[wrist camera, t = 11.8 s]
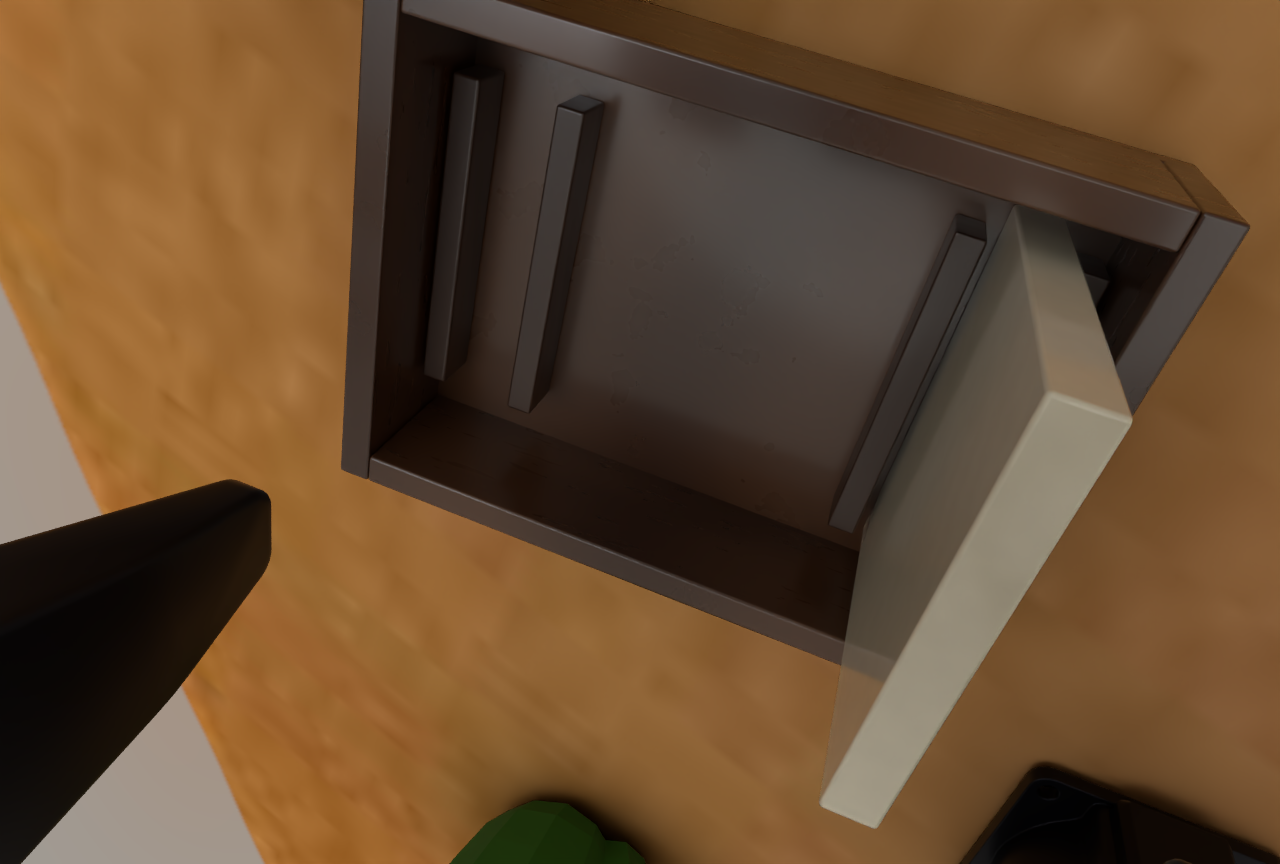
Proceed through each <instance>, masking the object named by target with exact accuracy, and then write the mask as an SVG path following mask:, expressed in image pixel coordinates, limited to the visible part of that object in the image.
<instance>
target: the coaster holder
mask: <svg viewBox="0 0 1280 864" xmlns="http://www.w3.org/2000/svg"><path fill="white" fill-rule="evenodd" d="M1015 205H1021V206H1024V207H1027V208H1031V209H1034V210H1037V211H1040V212H1043V213H1047V214H1050V215H1053V216H1056V217H1059V218H1063V219H1065V220H1066V221H1067V224H1068V227H1069V230H1070V233H1071V236H1072V239H1073V242H1074V244H1075V247H1076V250H1077V253H1078V256H1079V259H1080V262H1081V265H1082V268H1083V271H1084V274H1085V277H1086V280H1087V283H1088V286H1089V289H1090V292H1091V295H1092V298H1093V301H1094V304H1095V307H1096V310H1097V313H1098V316H1099V319H1100V322H1101V325H1102V328H1103V331H1104V334H1105V337H1106V340H1107V343H1108V346H1109V349H1110V352H1111V355H1112V358H1113V361H1114V364H1115V367H1116V370H1117V373H1118V376H1119V379H1120V382H1121V385H1122V388H1123V391H1124V394H1125V397H1126V400H1127V403H1128V406H1129V409H1130V412H1131V415H1132V416H1133V415H1134V413H1135V411H1136V410H1137V408H1138V407H1139V405H1140V403H1141V402H1142V400H1143V399H1144V397H1145V395H1146V394H1147V392H1148V391H1149V389H1150V387H1151V386H1152V384H1153V383H1154V381H1155V379H1156V378H1157V376H1158V375H1159V373H1160V371H1161V370H1162V368H1163V367H1164V365H1165V363H1166V362H1167V360H1168V359H1169V357H1170V355H1171V354H1172V352H1173V351H1174V349H1175V348H1176V346H1177V344H1178V343H1179V341H1180V340H1181V338H1182V336H1183V335H1184V333H1185V332H1186V330H1187V328H1188V327H1189V325H1190V324H1191V322H1192V320H1193V319H1194V317H1195V316H1196V314H1197V312H1198V311H1199V309H1200V308H1201V306H1202V304H1203V303H1204V301H1205V300H1206V298H1207V296H1208V295H1209V293H1210V292H1211V290H1212V289H1213V287H1214V285H1215V284H1216V282H1217V281H1218V279H1219V277H1220V276H1221V274H1222V273H1223V271H1224V269H1225V268H1226V266H1227V265H1228V263H1229V261H1230V260H1231V258H1232V257H1233V255H1234V253H1235V252H1236V250H1237V249H1238V247H1239V245H1240V244H1241V242H1242V241H1243V239H1244V237H1245V236H1246V234H1247V233H1248V231H1249V229H1250V225H1249V224H1248V223H1247V222H1246V221H1245V220H1244V218H1243V217H1242V216H1241V215H1240V214H1239V213H1238V212H1237V211H1236V210H1235V209H1234V208H1233V206H1232V205H1231V204H1230V203H1229V202H1228V201H1227V200H1226V199H1225V198H1224V197H1223V196H1222V195H1221V193H1220V192H1219V191H1218V190H1217V189H1216V188H1215V187H1214V186H1213V185H1212V184H1211V183H1210V181H1209V180H1208V179H1207V178H1206V177H1205V176H1204V175H1203V174H1202V173H1201V172H1200V171H1199V170H1198V168H1197V167H1196V166H1195V165H1192V164H1189V163H1186V162H1182V161H1179V160H1175V159H1172V158H1169V157H1165V156H1162V155H1158V154H1155V153H1152V152H1148V151H1145V150H1141V149H1138V148H1135V147H1131V146H1128V145H1125V144H1121V143H1118V142H1115V141H1111V140H1108V139H1104V138H1101V137H1098V136H1094V135H1091V134H1088V133H1084V132H1081V131H1077V130H1074V129H1071V128H1067V127H1064V126H1061V125H1057V124H1054V123H1050V122H1047V121H1044V120H1040V119H1037V118H1034V117H1030V116H1027V115H1024V114H1020V113H1017V112H1013V111H1010V110H1007V109H1003V108H1000V107H997V106H993V105H990V104H986V103H983V102H980V101H976V100H973V99H970V98H966V97H963V96H959V95H956V94H953V93H949V92H946V91H943V90H939V89H936V88H933V87H929V86H926V85H922V84H919V83H916V82H912V81H909V80H906V79H902V78H899V77H895V76H892V75H889V74H885V73H882V72H879V71H875V70H872V69H869V68H865V67H862V66H858V65H855V64H852V63H848V62H845V61H842V60H838V59H835V58H831V57H828V56H825V55H821V54H818V53H815V52H811V51H808V50H804V49H801V48H798V47H794V46H791V45H788V44H784V43H781V42H778V41H774V40H771V39H767V38H764V37H761V36H757V35H754V34H751V33H747V32H744V31H740V30H737V29H734V28H730V27H727V26H724V25H720V24H717V23H713V22H710V21H707V20H703V19H700V18H697V17H693V16H690V15H687V14H683V13H680V12H676V11H673V10H670V9H666V8H663V7H660V6H656V5H653V4H649V3H646V2H643V1H639V0H363V17H362V38H361V59H360V80H359V101H358V123H357V144H356V165H355V186H354V207H353V228H352V249H351V270H350V291H349V312H348V334H347V355H346V376H345V397H344V418H343V439H342V460H341V469H342V470H344V471H346V472H349V473H351V474H354V475H356V476H359V477H362V478H364V479H368V478H369V480H370V481H373V482H375V483H378V484H380V485H383V486H386V487H388V488H391V489H393V490H396V491H398V492H401V493H403V494H406V495H408V496H411V497H414V498H416V499H419V500H421V501H424V502H426V503H429V504H431V505H434V506H436V507H439V508H442V509H444V510H447V511H449V512H452V513H454V514H457V515H459V516H462V517H464V518H467V519H470V520H472V521H475V522H477V523H480V524H482V525H485V526H487V527H490V528H492V529H495V530H498V531H500V532H503V533H505V534H508V535H510V536H513V537H515V538H518V539H520V540H523V541H526V542H528V543H531V544H533V545H536V546H538V547H541V548H543V549H546V550H548V551H551V552H554V553H556V554H559V555H561V556H564V557H566V558H569V559H571V560H574V561H576V562H579V563H582V564H584V565H587V566H589V567H592V568H594V569H597V570H599V571H602V572H604V573H607V574H610V575H612V576H615V577H617V578H620V579H622V580H625V581H627V582H630V583H632V584H635V585H638V586H640V587H643V588H645V589H648V590H650V591H653V592H655V593H658V594H660V595H663V596H665V597H668V598H671V599H673V600H676V601H678V602H681V603H683V604H686V605H688V606H691V607H693V608H696V609H699V610H701V611H704V612H706V613H709V614H711V615H714V616H716V617H719V618H721V619H724V620H727V621H729V622H732V623H734V624H737V625H739V626H742V627H744V628H747V629H749V630H752V631H755V632H757V633H760V634H762V635H765V636H767V637H770V638H772V639H775V640H777V641H780V642H783V643H785V644H788V645H790V646H793V647H795V648H798V649H800V650H803V651H805V652H808V653H811V654H813V655H816V656H818V657H821V658H823V659H826V660H828V661H831V662H833V663H836V664H839V665H841V663H842V657H843V651H844V644H845V638H846V632H847V626H848V620H849V614H850V608H851V602H852V596H853V589H854V583H855V577H856V571H857V565H858V559H859V553H860V547H861V541H862V534H863V528H864V525H865V523H866V521H867V518H868V516H869V514H870V512H871V510H872V508H873V506H874V503H875V501H876V499H877V497H878V495H879V493H880V491H881V489H882V486H883V484H884V482H885V480H886V478H887V476H888V474H889V471H890V469H891V467H892V465H893V463H894V461H895V459H896V456H897V454H898V452H899V450H900V448H901V446H902V444H903V441H904V439H905V437H906V435H907V433H908V431H909V429H910V426H911V424H912V422H913V420H914V418H915V416H916V414H917V411H918V409H919V407H920V405H921V403H922V401H923V399H924V397H925V394H926V392H927V390H928V388H929V386H930V384H931V382H932V379H933V377H934V375H935V373H936V371H937V369H938V367H939V364H940V362H941V360H942V358H943V356H944V354H945V352H946V349H947V347H948V345H949V343H950V341H951V339H952V337H953V334H954V332H955V330H956V328H957V326H958V324H959V322H960V319H961V317H962V315H963V313H964V311H965V309H966V307H967V305H968V302H969V300H970V298H971V296H972V294H973V292H974V290H975V287H976V285H977V283H978V281H979V279H980V277H981V275H982V272H983V270H984V268H985V266H986V264H987V262H988V260H989V257H990V255H991V253H992V251H993V249H994V247H995V245H996V242H997V240H998V238H999V236H1000V234H1001V232H1002V230H1003V227H1004V225H1005V223H1006V221H1007V219H1008V217H1009V215H1010V213H1011V210H1012V208H1013V207H1014V206H1015Z"/></svg>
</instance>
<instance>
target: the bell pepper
mask: <svg viewBox="0 0 1280 864" xmlns="http://www.w3.org/2000/svg"><path fill="white" fill-rule="evenodd" d="M450 864H646V863H645V859H644V858H643V857H642V856H641V855H639V854H638V853H637V852H636V851H635V850H634V849H633V848H632V847H631V846H630V845H628V844H627V843H626V842H619V841H609V840H605V839H604V837H603V836H602V834H601V832H600V830H599V829H598V827H597V825H596V824H595V823H593V822H592V821H590V820H589V819H588V818H586V817H585V816H584V815H582V814H581V813H579V812H578V811H577V810H575V809H574V808H573V807H571V806H570V805H568V804H567V803H557V802H546V801H536V800H534V801H531V802H529V803H526V804H524V805H521V806H519V807H516V808H513V809H511V810H508V811H507V812H505V813H503V814H501V815H500V816H498V817H496V818H494V819H493V820H491V821H489V822H487V823H486V824H485V825H484V826H483V828H482V829H481V830H480V831H479V832H478V833H477V834H476V835H475V836H474V837H473V838H472V839H471V841H470V842H469V843H468V844H467V845H466V846H465V847H464V848H463V849H462V850H461V851H460V852H459V853H458V855H457V856H456V857H455V858H454V859H453V860H452V862H451V863H450Z"/></svg>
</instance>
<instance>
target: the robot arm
mask: <svg viewBox="0 0 1280 864" xmlns="http://www.w3.org/2000/svg"><path fill="white" fill-rule="evenodd" d="M270 556H271V500H270V498H269V496H268V494H267V493H265V492H264V491H262V490H260V489H258V488H255V487H253V486H250V485H248V484H245V483H243V482H240V481H237V480H232V479H229V480H223V481H219V482H215V483H212V484H208V485H205V486H202V487H198V488H195V489H191V490H188V491H184V492H181V493H177V494H174V495H170V496H167V497H163V498H160V499H156V500H153V501H150V502H146V503H143V504H139V505H136V506H132V507H129V508H125V509H122V510H118V511H115V512H111V513H108V514H104V515H101V516H98V517H94V518H91V519H87V520H84V521H80V522H77V523H73V524H70V525H66V526H63V527H60V528H56V529H52V530H49V531H46V532H42V533H39V534H35V535H32V536H28V537H25V538H21V539H18V540H14V541H11V542H7V543H4V544H0V864H21V863H22V862H23V861H24V860H25V859H26V857H27V856H28V855H29V854H30V853H31V852H32V851H33V850H34V849H35V847H36V846H37V845H38V844H39V843H40V842H41V841H42V840H43V838H45V837H46V835H47V834H48V833H49V832H50V831H51V830H52V829H53V828H54V827H55V826H56V824H57V823H58V822H59V821H60V820H61V819H62V818H63V817H64V816H65V815H66V813H67V812H68V811H69V810H70V809H71V808H72V807H73V806H74V805H75V803H76V802H77V801H78V800H79V799H80V798H81V797H82V796H83V795H84V794H85V792H86V791H87V790H88V789H89V788H90V787H91V786H92V785H93V784H94V782H95V781H96V780H97V779H98V778H99V777H100V776H101V775H102V774H103V773H104V772H105V770H106V769H107V768H108V767H109V766H110V765H111V764H112V763H113V762H114V761H115V759H116V758H117V757H118V756H119V755H120V754H121V753H122V752H123V751H124V750H125V748H126V747H127V746H128V745H129V744H130V743H131V742H132V741H133V740H134V739H135V737H136V736H137V735H138V734H139V733H140V732H141V731H142V730H143V729H144V727H145V726H146V725H147V724H148V723H149V722H150V721H151V720H152V719H153V718H154V716H155V715H156V714H157V713H158V712H159V711H160V710H161V709H162V707H163V706H164V705H165V704H166V703H167V702H168V700H169V699H170V698H171V697H172V696H173V695H174V694H175V692H176V691H177V690H178V688H179V687H180V686H181V685H182V683H183V682H184V681H185V679H186V678H187V677H188V676H189V674H190V673H191V672H192V670H193V669H194V668H195V666H196V665H197V663H198V662H199V661H200V659H201V658H202V657H203V655H204V654H205V653H206V651H207V650H208V649H209V647H210V646H211V644H212V643H213V642H214V640H215V639H216V638H217V636H218V635H219V634H220V632H221V631H222V630H223V628H224V627H225V625H226V624H227V623H228V621H229V620H230V619H231V617H232V616H233V615H234V613H235V612H236V610H237V609H238V608H239V606H240V605H241V604H242V602H243V601H244V600H245V598H246V597H247V596H248V594H249V593H250V591H251V590H252V589H253V587H254V586H255V585H256V583H257V582H258V581H259V579H260V578H261V576H262V575H263V573H264V572H265V570H266V568H267V566H268V563H269V561H270ZM1046 785H1048V786H1052V787H1044V786H1046ZM960 864H1280V858H1278V857H1277V856H1275V855H1273V854H1270V853H1268V852H1265V851H1263V850H1260V849H1257V848H1255V847H1252V846H1250V845H1247V844H1245V843H1242V842H1240V841H1237V840H1235V839H1232V838H1230V837H1227V836H1225V835H1222V834H1220V833H1217V832H1215V831H1212V830H1210V829H1207V828H1204V827H1202V826H1199V825H1197V824H1194V823H1192V822H1189V821H1187V820H1184V819H1182V818H1179V817H1177V816H1174V815H1172V814H1169V813H1167V812H1164V811H1162V810H1159V809H1156V808H1154V807H1151V806H1149V805H1146V804H1144V803H1141V802H1139V801H1136V800H1134V799H1131V798H1129V797H1126V796H1124V795H1121V794H1119V793H1116V792H1114V791H1111V790H1108V789H1106V788H1103V787H1101V786H1098V785H1096V784H1093V783H1091V782H1088V781H1086V780H1083V779H1081V778H1078V777H1076V776H1073V775H1071V774H1068V773H1066V772H1063V771H1060V770H1058V769H1055V768H1051V767H1037V768H1034V769H1032V770H1031V771H1029V772H1028V773H1027V775H1026V776H1025V777H1024V779H1023V780H1022V781H1021V783H1020V784H1019V785H1018V787H1017V788H1016V789H1015V791H1014V792H1013V793H1012V795H1011V796H1010V797H1009V799H1008V800H1007V802H1006V803H1005V804H1004V806H1003V807H1002V808H1001V810H1000V811H999V812H998V814H997V815H996V816H995V818H994V819H993V820H992V822H991V823H990V824H989V826H988V827H987V828H986V830H985V831H984V832H983V834H982V835H981V836H980V838H979V839H978V840H977V842H976V843H975V844H974V846H973V847H972V848H971V850H970V851H969V852H968V854H967V855H966V857H965V858H964V859H963V861H962V862H961V863H960Z"/></svg>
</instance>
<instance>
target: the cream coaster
mask: <svg viewBox="0 0 1280 864" xmlns="http://www.w3.org/2000/svg"><path fill="white" fill-rule="evenodd" d="M1132 422H1133V417H1132V415H1131V412H1130V409H1129V406H1128V403H1127V400H1126V397H1125V394H1124V391H1123V388H1122V385H1121V382H1120V379H1119V376H1118V373H1117V370H1116V367H1115V364H1114V361H1113V358H1112V355H1111V352H1110V349H1109V346H1108V343H1107V340H1106V337H1105V334H1104V331H1103V328H1102V325H1101V322H1100V319H1099V316H1098V313H1097V310H1096V307H1095V304H1094V301H1093V298H1092V295H1091V292H1090V289H1089V286H1088V283H1087V280H1086V277H1085V274H1084V271H1083V268H1082V265H1081V262H1080V259H1079V256H1078V253H1077V250H1076V247H1075V244H1074V242H1073V239H1072V236H1071V233H1070V230H1069V227H1068V224H1067V221H1066V220H1065V219H1063V218H1059V217H1056V216H1053V215H1050V214H1047V213H1043V212H1040V211H1037V210H1034V209H1031V208H1027V207H1024V206H1021V205H1015V206H1014V207H1013V208H1012V210H1011V213H1010V215H1009V217H1008V219H1007V221H1006V223H1005V225H1004V227H1003V230H1002V232H1001V234H1000V236H999V238H998V240H997V242H996V245H995V247H994V249H993V251H992V253H991V255H990V257H989V260H988V262H987V264H986V266H985V268H984V270H983V272H982V275H981V277H980V279H979V281H978V283H977V285H976V287H975V290H974V292H973V294H972V296H971V298H970V300H969V302H968V305H967V307H966V309H965V311H964V313H963V315H962V317H961V319H960V322H959V324H958V326H957V328H956V330H955V332H954V334H953V337H952V339H951V341H950V343H949V345H948V347H947V349H946V352H945V354H944V356H943V358H942V360H941V362H940V364H939V367H938V369H937V371H936V373H935V375H934V377H933V379H932V382H931V384H930V386H929V388H928V390H927V392H926V394H925V397H924V399H923V401H922V403H921V405H920V407H919V409H918V411H917V414H916V416H915V418H914V420H913V422H912V424H911V426H910V429H909V431H908V433H907V435H906V437H905V439H904V441H903V444H902V446H901V448H900V450H899V452H898V454H897V456H896V459H895V461H894V463H893V465H892V467H891V469H890V471H889V474H888V476H887V478H886V480H885V482H884V484H883V486H882V489H881V491H880V493H879V495H878V497H877V499H876V501H875V503H874V506H873V508H872V510H871V512H870V514H869V516H868V518H867V521H866V523H865V525H864V528H863V534H862V541H861V547H860V553H859V559H858V565H857V571H856V577H855V583H854V589H853V596H852V602H851V608H850V614H849V620H848V626H847V632H846V638H845V644H844V651H843V657H842V663H841V669H840V675H839V681H838V687H837V693H836V700H835V706H834V712H833V718H832V724H831V730H830V736H829V742H828V748H827V755H826V761H825V767H824V773H823V779H822V785H821V791H820V797H819V804H820V806H821V807H822V808H824V809H827V810H829V811H832V812H834V813H836V814H839V815H841V816H844V817H846V818H848V819H851V820H853V821H856V822H858V823H860V824H863V825H865V826H868V827H870V828H873V829H876V828H878V826H879V825H880V823H881V822H882V820H883V818H884V817H885V815H886V814H887V812H888V811H889V809H890V807H891V806H892V804H893V803H894V801H895V799H896V798H897V796H898V795H899V793H900V792H901V790H902V788H903V787H904V785H905V784H906V782H907V780H908V779H909V777H910V776H911V774H912V772H913V771H914V769H915V768H916V766H917V765H918V763H919V761H920V760H921V758H922V757H923V755H924V753H925V752H926V750H927V749H928V747H929V746H930V744H931V742H932V741H933V739H934V738H935V736H936V734H937V733H938V731H939V730H940V728H941V726H942V725H943V723H944V722H945V720H946V719H947V717H948V715H949V714H950V712H951V711H952V709H953V707H954V706H955V704H956V703H957V701H958V699H959V698H960V696H961V695H962V693H963V692H964V690H965V688H966V687H967V685H968V684H969V682H970V680H971V679H972V677H973V676H974V674H975V673H976V671H977V669H978V668H979V666H980V665H981V663H982V661H983V660H984V658H985V657H986V655H987V653H988V652H989V650H990V649H991V647H992V646H993V644H994V642H995V641H996V639H997V638H998V636H999V634H1000V633H1001V631H1002V630H1003V628H1004V627H1005V625H1006V623H1007V622H1008V620H1009V619H1010V617H1011V615H1012V614H1013V612H1014V611H1015V609H1016V607H1017V606H1018V604H1019V603H1020V601H1021V600H1022V598H1023V596H1024V595H1025V593H1026V592H1027V590H1028V588H1029V587H1030V585H1031V584H1032V582H1033V581H1034V579H1035V577H1036V576H1037V574H1038V573H1039V571H1040V569H1041V568H1042V566H1043V565H1044V563H1045V561H1046V560H1047V558H1048V557H1049V555H1050V554H1051V552H1052V550H1053V549H1054V547H1055V546H1056V544H1057V542H1058V541H1059V539H1060V538H1061V536H1062V535H1063V533H1064V531H1065V530H1066V528H1067V527H1068V525H1069V523H1070V522H1071V520H1072V519H1073V517H1074V515H1075V514H1076V512H1077V511H1078V509H1079V508H1080V506H1081V504H1082V503H1083V501H1084V500H1085V498H1086V496H1087V495H1088V493H1089V492H1090V490H1091V488H1092V487H1093V485H1094V484H1095V482H1096V481H1097V479H1098V477H1099V476H1100V474H1101V473H1102V471H1103V469H1104V468H1105V466H1106V465H1107V463H1108V462H1109V460H1110V458H1111V457H1112V455H1113V454H1114V452H1115V450H1116V449H1117V447H1118V446H1119V444H1120V442H1121V441H1122V439H1123V438H1124V436H1125V435H1126V433H1127V431H1128V430H1129V428H1130V427H1131V425H1132Z"/></svg>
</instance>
